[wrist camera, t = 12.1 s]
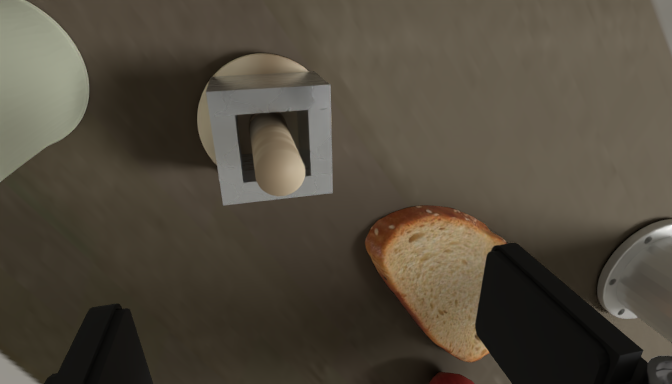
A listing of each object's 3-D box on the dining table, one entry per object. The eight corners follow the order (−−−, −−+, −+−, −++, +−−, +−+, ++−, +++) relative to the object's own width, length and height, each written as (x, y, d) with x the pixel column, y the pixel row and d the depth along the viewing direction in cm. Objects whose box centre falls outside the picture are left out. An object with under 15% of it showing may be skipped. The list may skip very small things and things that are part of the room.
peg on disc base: (326, 49, 27) (371, 71, 18) (330, 172, 31) (368, 240, 22) (187, 56, 25) (161, 84, 16) (209, 185, 29) (198, 265, 20)
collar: (314, 71, 26) (330, 84, 22) (317, 164, 29) (332, 192, 25) (210, 76, 25) (205, 91, 21) (224, 173, 28) (223, 205, 23)
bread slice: (366, 206, 33) (381, 228, 30) (549, 196, 37) (579, 214, 34) (350, 363, 41) (361, 394, 37) (505, 340, 45) (526, 367, 41)
